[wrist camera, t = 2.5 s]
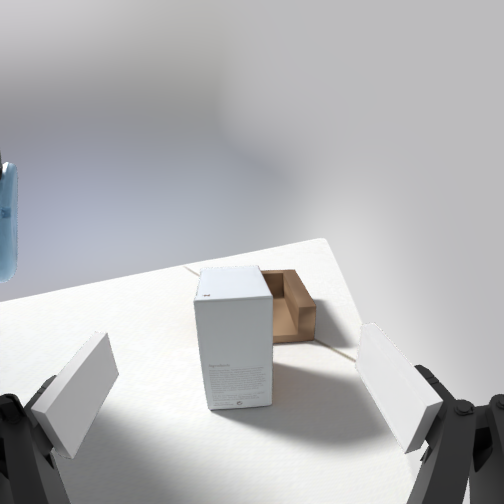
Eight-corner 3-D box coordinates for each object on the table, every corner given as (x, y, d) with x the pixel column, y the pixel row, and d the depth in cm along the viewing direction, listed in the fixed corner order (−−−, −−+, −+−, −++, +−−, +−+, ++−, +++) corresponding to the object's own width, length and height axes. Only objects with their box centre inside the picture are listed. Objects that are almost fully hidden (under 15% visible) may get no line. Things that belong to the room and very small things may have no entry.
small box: (272, 407, 22) (274, 296, 20) (206, 411, 22) (192, 300, 19) (260, 357, 30) (259, 263, 27) (208, 360, 29) (200, 266, 27)
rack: (211, 344, 33) (208, 310, 31) (218, 298, 46) (217, 271, 45) (313, 340, 33) (316, 306, 32) (293, 296, 47) (294, 269, 45)
